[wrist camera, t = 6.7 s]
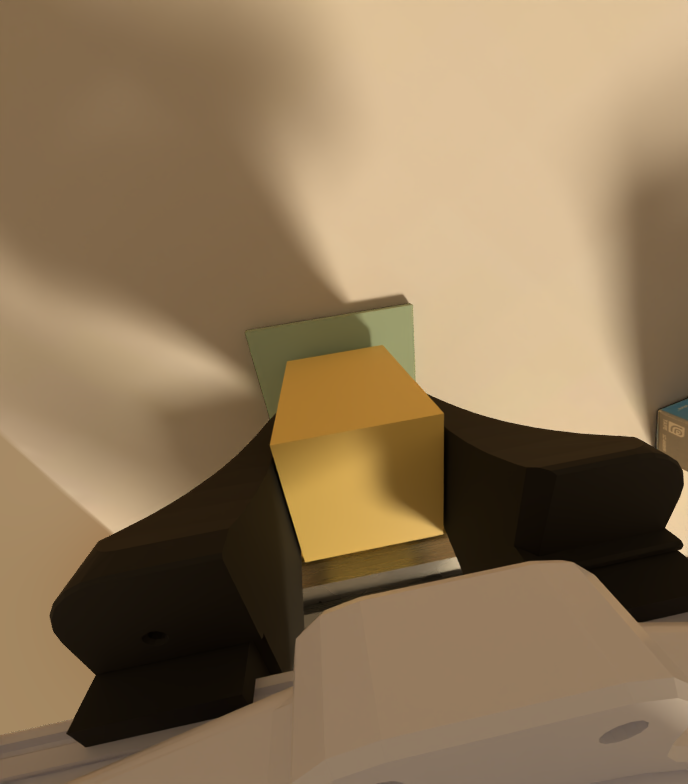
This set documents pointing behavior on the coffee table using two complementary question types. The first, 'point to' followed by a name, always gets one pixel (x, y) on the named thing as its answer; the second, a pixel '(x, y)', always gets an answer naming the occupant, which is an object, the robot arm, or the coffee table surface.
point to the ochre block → (358, 453)
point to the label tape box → (674, 432)
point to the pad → (329, 343)
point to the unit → (375, 572)
